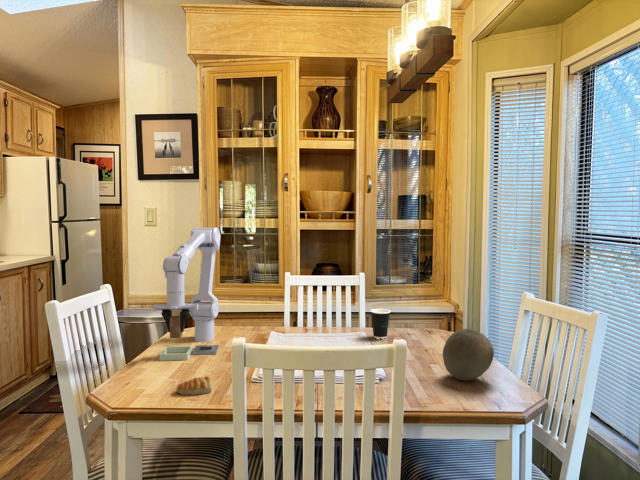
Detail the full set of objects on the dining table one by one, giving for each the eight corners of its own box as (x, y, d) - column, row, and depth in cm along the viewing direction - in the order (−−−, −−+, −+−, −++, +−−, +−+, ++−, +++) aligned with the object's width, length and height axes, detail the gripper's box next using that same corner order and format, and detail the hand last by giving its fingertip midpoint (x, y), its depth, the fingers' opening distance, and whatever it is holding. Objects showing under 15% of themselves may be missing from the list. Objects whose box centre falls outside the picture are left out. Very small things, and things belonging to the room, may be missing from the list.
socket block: (196, 350, 167) (196, 345, 167) (218, 350, 167) (218, 345, 167) (192, 357, 159) (192, 352, 159) (215, 357, 159) (215, 351, 159)
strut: (170, 338, 155) (169, 317, 155) (172, 335, 159) (172, 315, 158) (180, 338, 155) (180, 317, 155) (182, 335, 159) (182, 315, 158)
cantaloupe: (459, 390, 131) (460, 337, 130) (434, 373, 144) (434, 325, 143) (502, 385, 134) (503, 334, 134) (473, 369, 148) (474, 323, 147)
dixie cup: (387, 341, 181) (388, 313, 180) (368, 339, 183) (368, 311, 183) (391, 336, 188) (392, 309, 187) (372, 334, 191) (373, 308, 190)
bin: (166, 355, 161) (166, 346, 161) (192, 354, 162) (192, 346, 162) (159, 363, 152) (159, 354, 152) (187, 362, 153) (187, 353, 153)
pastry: (178, 398, 124) (177, 384, 124) (175, 390, 130) (175, 376, 130) (213, 393, 128) (213, 379, 128) (209, 385, 134) (209, 372, 134)
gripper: (150, 293, 151) (150, 334, 152) (195, 293, 153) (195, 334, 153) (155, 290, 158) (156, 329, 159) (199, 290, 160) (199, 328, 160)
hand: (176, 331), depth 157 cm, fingers closed on strut, 3 cm apart
